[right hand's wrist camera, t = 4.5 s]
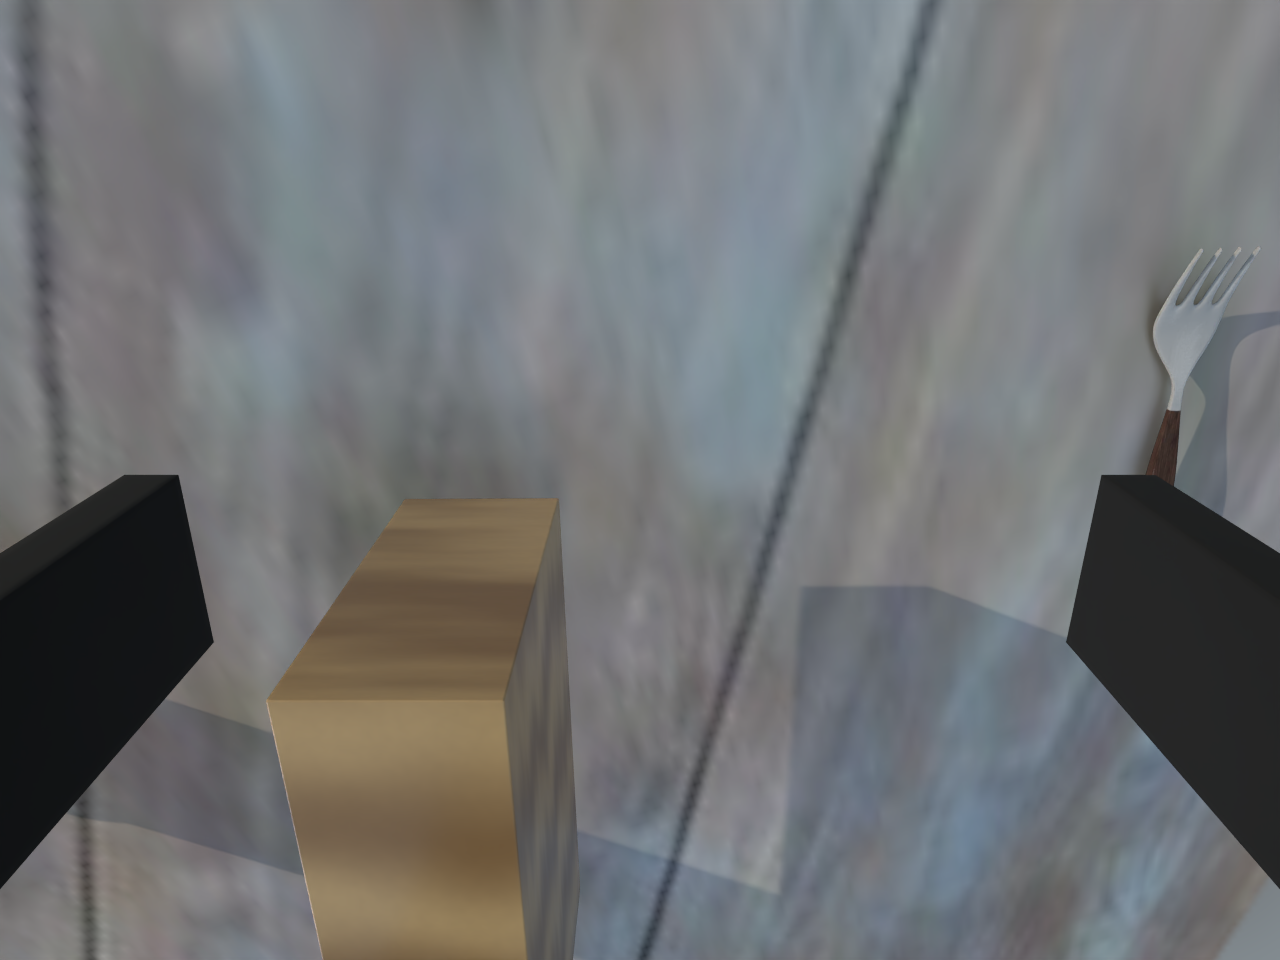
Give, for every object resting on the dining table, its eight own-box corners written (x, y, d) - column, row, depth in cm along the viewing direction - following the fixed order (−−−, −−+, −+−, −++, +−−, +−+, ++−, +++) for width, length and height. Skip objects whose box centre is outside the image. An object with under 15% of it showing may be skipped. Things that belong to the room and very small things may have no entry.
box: (404, 498, 33) (265, 700, 21) (558, 497, 33) (504, 700, 21) (454, 887, 41) (373, 1193, 29) (580, 888, 41) (548, 1196, 29)
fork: (1101, 593, 40) (1123, 615, 38) (1167, 242, 34) (1196, 249, 32) (1158, 591, 40) (1182, 614, 38) (1234, 240, 34) (1267, 246, 32)
